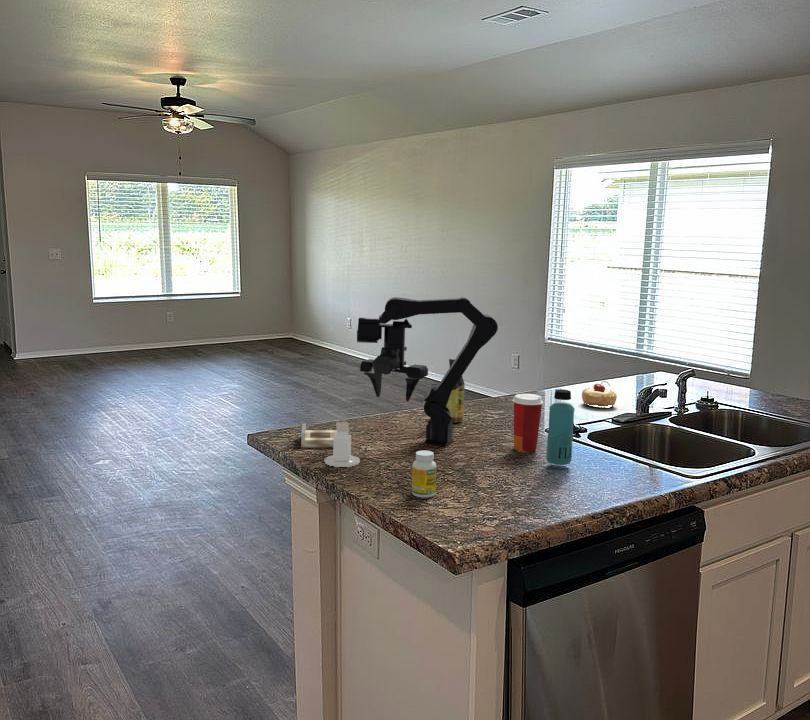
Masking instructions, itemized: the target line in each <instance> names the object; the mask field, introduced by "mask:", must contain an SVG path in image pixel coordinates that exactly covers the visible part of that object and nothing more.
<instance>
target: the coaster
mask: <svg viewBox="0 0 810 720" xmlns="http://www.w3.org/2000/svg"><path fill="white" fill-rule="evenodd" d="M323 462H325V463H324V464H325V465H326V464H327V465H326V466H328V465H329V467H331V466H334V467H333V468H338V467H347V468H353V467H356V465H357V466H359V465H360V464H361V458H359V457H357V456H356V455H352V454H351V457H350V459H349V461H347V462H341V461H334V459H333V454H332V455H329V456H326V457H325V458H324V460H323ZM359 463H360V464H359ZM352 466H353V467H352Z"/></svg>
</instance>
